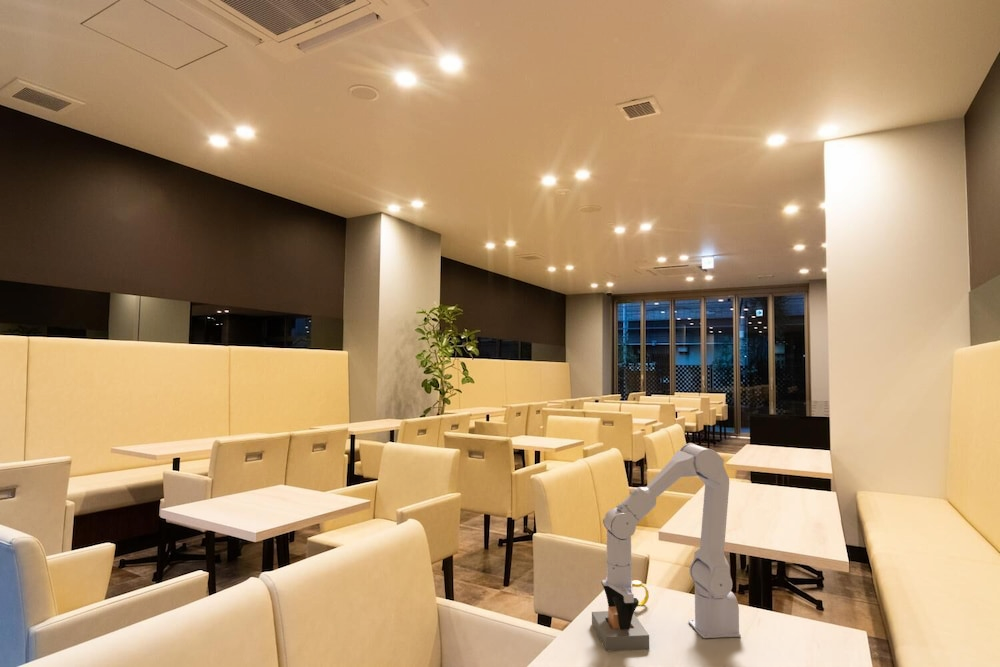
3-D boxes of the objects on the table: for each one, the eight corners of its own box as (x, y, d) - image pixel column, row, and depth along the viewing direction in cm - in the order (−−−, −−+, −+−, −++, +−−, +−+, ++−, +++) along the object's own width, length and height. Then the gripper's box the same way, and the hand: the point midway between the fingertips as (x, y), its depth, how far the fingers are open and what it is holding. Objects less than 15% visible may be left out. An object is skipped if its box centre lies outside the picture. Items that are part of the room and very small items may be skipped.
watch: (628, 608, 142) (626, 585, 142) (624, 603, 145) (623, 581, 145) (650, 606, 142) (648, 583, 143) (646, 601, 145) (645, 579, 145)
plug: (624, 631, 129) (624, 606, 130) (630, 640, 125) (630, 613, 126) (608, 632, 129) (608, 606, 129) (613, 641, 125) (613, 614, 125)
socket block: (631, 622, 134) (631, 610, 134) (649, 648, 122) (649, 635, 122) (591, 624, 133) (591, 611, 133) (605, 650, 121) (605, 637, 121)
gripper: (594, 551, 135) (594, 607, 134) (611, 574, 120) (611, 637, 120) (621, 550, 135) (622, 605, 135) (642, 573, 121) (642, 635, 120)
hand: (619, 620), depth 127 cm, fingers open, 7 cm apart
